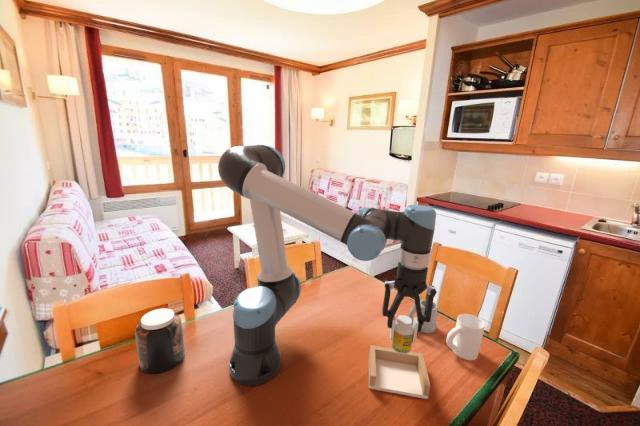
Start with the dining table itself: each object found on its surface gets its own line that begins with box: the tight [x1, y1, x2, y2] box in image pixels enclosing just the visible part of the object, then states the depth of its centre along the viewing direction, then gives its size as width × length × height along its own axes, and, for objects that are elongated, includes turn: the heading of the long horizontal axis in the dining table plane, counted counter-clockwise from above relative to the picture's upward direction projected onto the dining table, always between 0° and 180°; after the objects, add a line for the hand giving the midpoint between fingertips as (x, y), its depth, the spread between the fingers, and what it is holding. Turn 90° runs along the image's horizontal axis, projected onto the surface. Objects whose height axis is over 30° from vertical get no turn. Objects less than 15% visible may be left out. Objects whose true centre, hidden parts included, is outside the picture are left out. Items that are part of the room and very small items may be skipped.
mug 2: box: [445, 313, 486, 361], centre depth 93 cm, size 8×12×12 cm
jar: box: [134, 307, 185, 375], centre depth 84 cm, size 12×12×15 cm
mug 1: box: [407, 299, 439, 334], centre depth 105 cm, size 8×12×12 cm, turn 105°
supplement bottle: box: [391, 314, 414, 354], centre depth 80 cm, size 5×5×10 cm
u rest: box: [368, 344, 431, 400], centre depth 83 cm, size 16×12×4 cm
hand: (402, 338), depth 80 cm, fingers closed on supplement bottle, 5 cm apart
